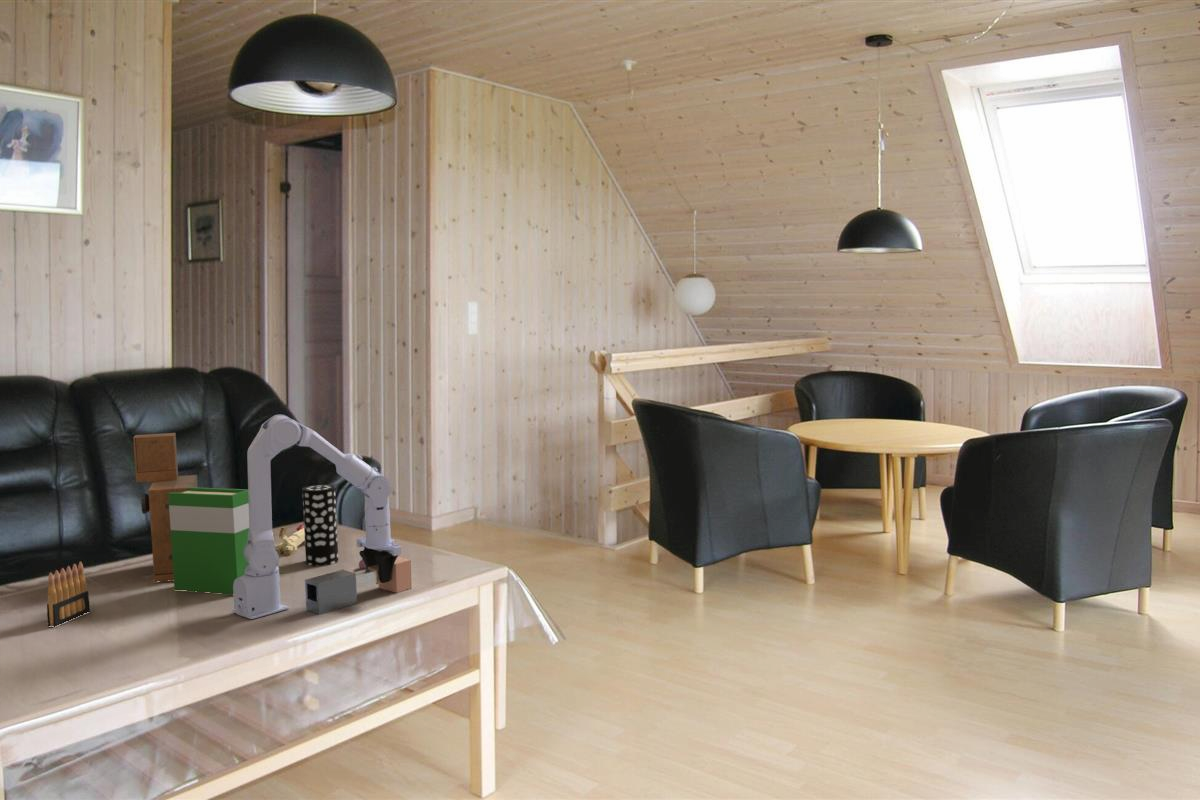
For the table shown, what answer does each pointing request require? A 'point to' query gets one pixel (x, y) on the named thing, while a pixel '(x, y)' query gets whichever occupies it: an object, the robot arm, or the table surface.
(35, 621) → the table surface
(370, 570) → the tube
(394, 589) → the socket block
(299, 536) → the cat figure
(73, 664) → the table surface
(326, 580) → the outer sleeve
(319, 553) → the white-spotted black cylinder
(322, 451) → the robot arm
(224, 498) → the hardback book
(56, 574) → the ammunition clip
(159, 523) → the brown stacked box shape
